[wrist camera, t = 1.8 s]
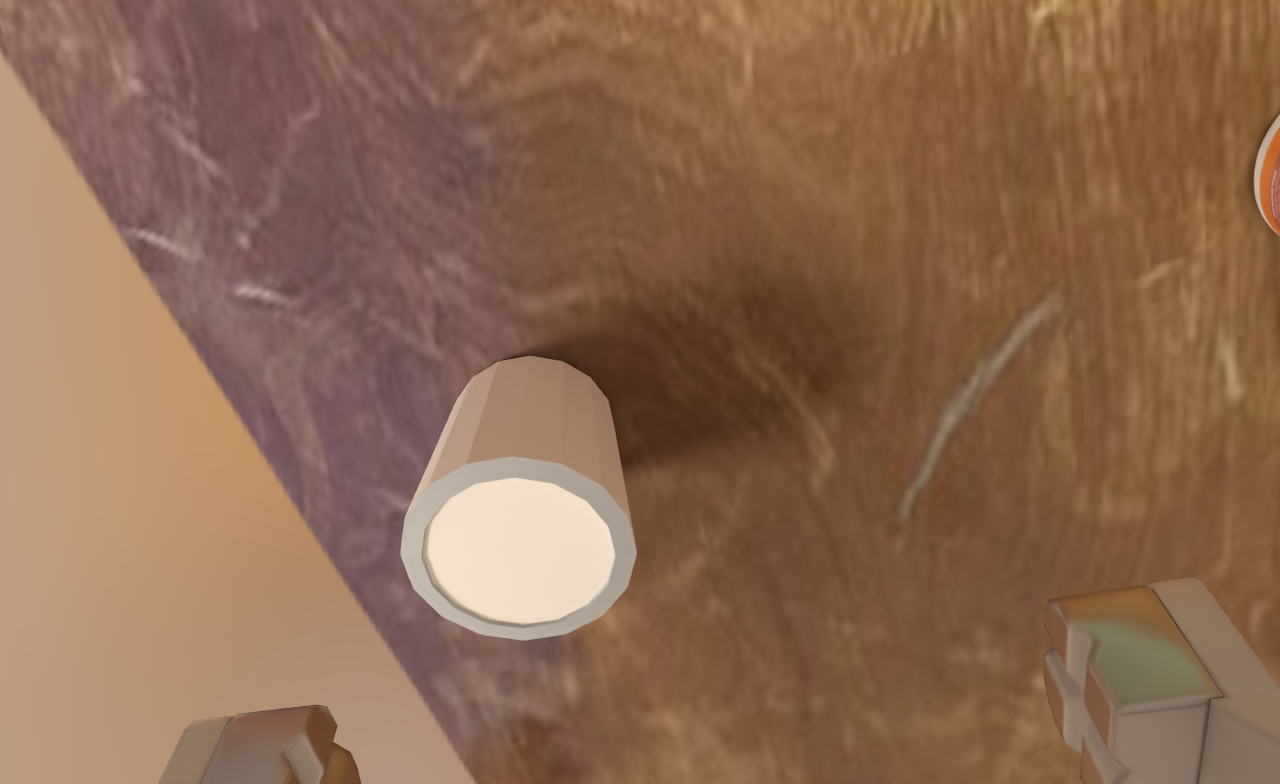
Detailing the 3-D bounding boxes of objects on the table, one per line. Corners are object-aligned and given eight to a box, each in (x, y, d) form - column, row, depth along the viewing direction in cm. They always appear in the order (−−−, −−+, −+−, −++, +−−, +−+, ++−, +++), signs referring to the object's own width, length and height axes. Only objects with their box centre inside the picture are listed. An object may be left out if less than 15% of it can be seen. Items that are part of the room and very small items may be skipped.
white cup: (398, 380, 34) (354, 505, 28) (585, 311, 33) (580, 425, 27) (487, 528, 37) (465, 668, 31) (660, 469, 36) (671, 604, 30)
